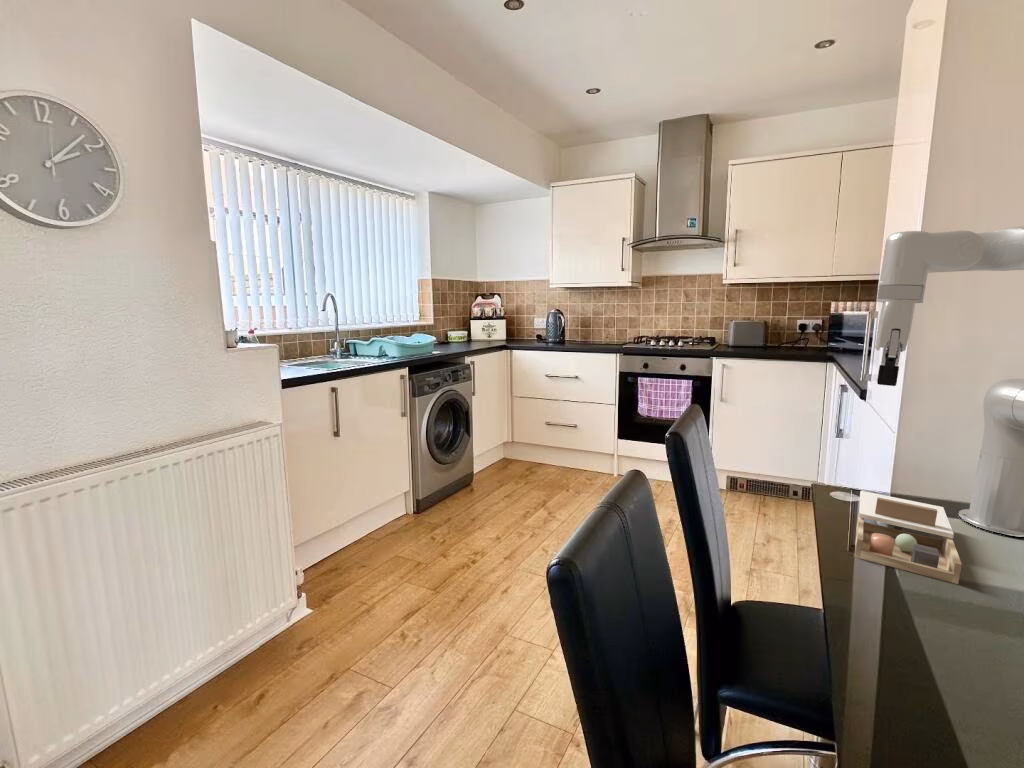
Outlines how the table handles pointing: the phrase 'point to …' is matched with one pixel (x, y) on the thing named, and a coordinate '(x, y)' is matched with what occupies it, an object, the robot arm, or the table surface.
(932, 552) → the charcoal block
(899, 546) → the sage ball
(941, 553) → the oak box
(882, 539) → the glossy peach egg
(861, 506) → the sliding lid
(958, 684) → the table surface
